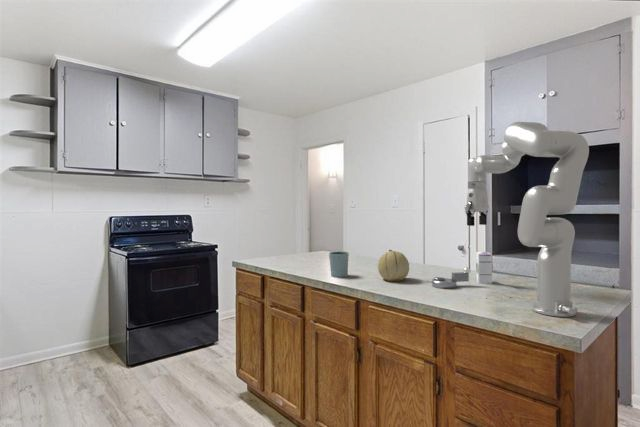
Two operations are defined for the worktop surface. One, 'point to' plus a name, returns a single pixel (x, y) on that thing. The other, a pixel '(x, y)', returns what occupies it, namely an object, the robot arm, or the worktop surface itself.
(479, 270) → the syrup box
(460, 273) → the silver door handle
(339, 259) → the drinking glass
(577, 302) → the worktop surface
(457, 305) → the worktop surface
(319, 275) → the worktop surface
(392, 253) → the cantaloupe
